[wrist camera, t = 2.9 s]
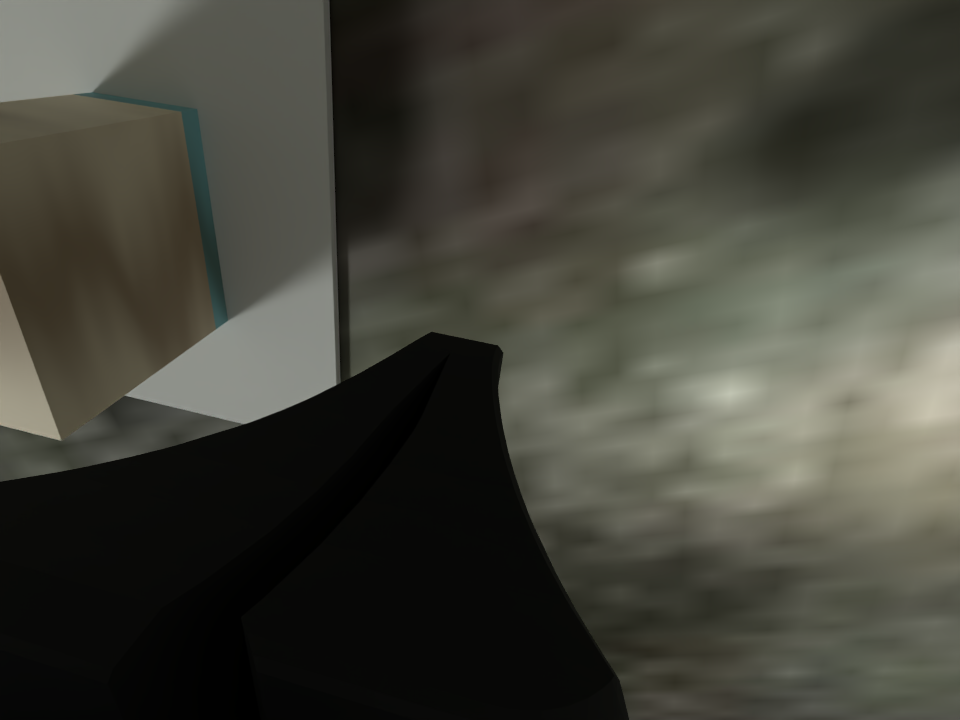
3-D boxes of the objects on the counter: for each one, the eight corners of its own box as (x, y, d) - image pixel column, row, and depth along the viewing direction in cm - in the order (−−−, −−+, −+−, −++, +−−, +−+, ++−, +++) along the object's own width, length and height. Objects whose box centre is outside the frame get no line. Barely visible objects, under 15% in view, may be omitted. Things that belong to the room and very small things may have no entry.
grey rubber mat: (342, 441, 19) (338, 446, 19) (-10, 357, 21) (-18, 361, 21) (327, -76, 12) (320, -78, 11) (-211, -133, 14) (-227, -136, 13)
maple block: (228, 320, 17) (61, 441, 12) (141, 302, 18) (-56, 411, 12) (197, 108, 14) (-46, 151, 9) (91, 91, 14) (-197, 123, 9)
